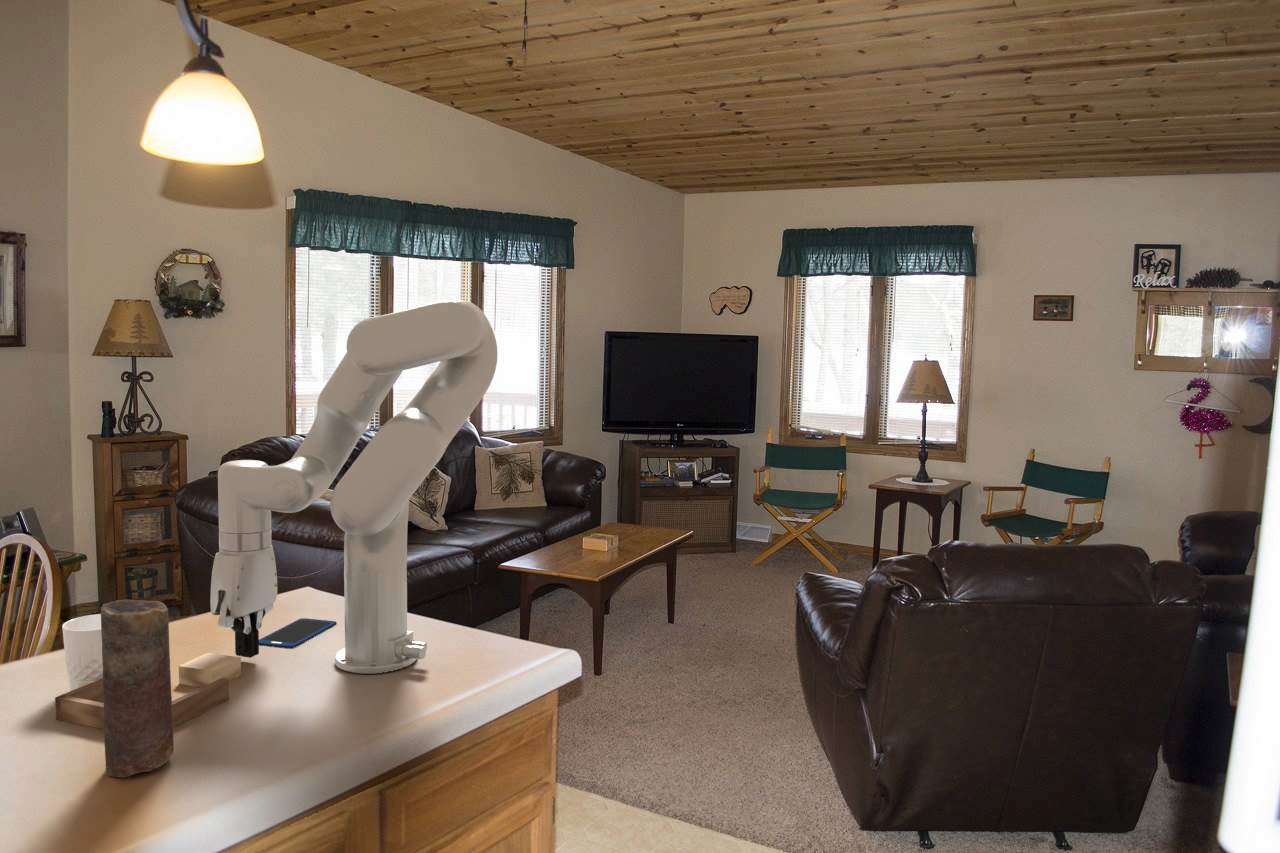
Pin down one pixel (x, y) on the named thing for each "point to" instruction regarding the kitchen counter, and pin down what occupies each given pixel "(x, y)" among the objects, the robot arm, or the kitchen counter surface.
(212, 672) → the tan square block
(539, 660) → the kitchen counter surface
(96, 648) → the white cup
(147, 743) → the candle
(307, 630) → the cell phone
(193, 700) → the corral
